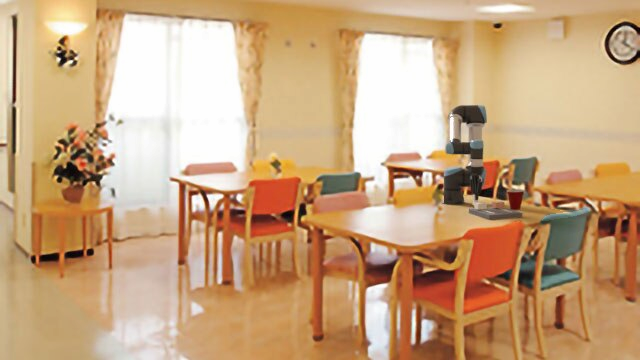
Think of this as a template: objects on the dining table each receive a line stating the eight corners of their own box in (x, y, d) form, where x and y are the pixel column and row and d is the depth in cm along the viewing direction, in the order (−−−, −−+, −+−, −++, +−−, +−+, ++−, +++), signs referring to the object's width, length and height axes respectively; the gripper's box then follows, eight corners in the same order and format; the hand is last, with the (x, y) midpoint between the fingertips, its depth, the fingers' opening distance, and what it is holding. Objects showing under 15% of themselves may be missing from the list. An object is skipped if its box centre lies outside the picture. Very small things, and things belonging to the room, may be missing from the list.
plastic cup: (513, 206, 406) (514, 188, 405) (527, 209, 397) (528, 190, 396) (501, 208, 400) (502, 189, 399) (515, 211, 391) (516, 191, 390)
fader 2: (491, 207, 389) (492, 201, 388) (500, 206, 391) (500, 200, 390) (495, 208, 385) (495, 202, 385) (504, 207, 387) (504, 202, 386)
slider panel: (468, 212, 388) (468, 208, 387) (500, 210, 394) (500, 205, 394) (489, 219, 367) (489, 214, 367) (522, 217, 374) (522, 212, 373)
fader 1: (474, 208, 385) (474, 202, 385) (483, 207, 387) (483, 202, 386) (477, 209, 381) (478, 203, 381) (486, 209, 383) (487, 203, 383)
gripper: (465, 165, 391) (464, 203, 394) (476, 167, 379) (475, 207, 382) (476, 164, 393) (475, 203, 396) (487, 166, 381) (486, 206, 384)
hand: (475, 205), depth 389 cm, fingers closed
